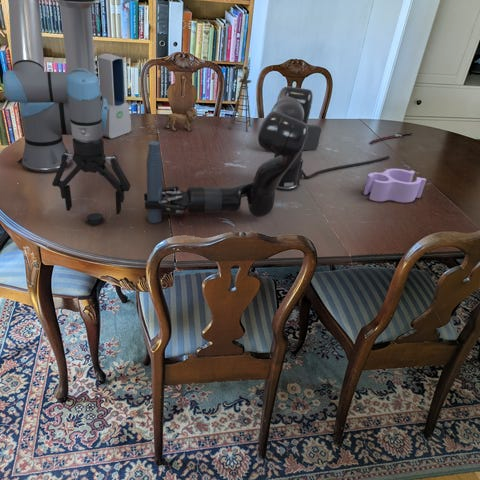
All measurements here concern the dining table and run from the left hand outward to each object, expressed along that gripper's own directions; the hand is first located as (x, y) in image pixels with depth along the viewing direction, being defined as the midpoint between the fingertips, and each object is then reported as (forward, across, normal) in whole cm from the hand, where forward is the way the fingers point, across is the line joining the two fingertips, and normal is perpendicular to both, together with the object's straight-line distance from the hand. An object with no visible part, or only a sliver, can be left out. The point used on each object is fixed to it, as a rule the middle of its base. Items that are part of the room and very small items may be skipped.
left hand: (94, 210), depth 130 cm
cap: (+2, 0, 0) cm, 2 cm away
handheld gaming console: (+4, +64, +66) cm, 92 cm away
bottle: (+4, +16, +3) cm, 17 cm away
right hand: (-3, +14, +3) cm, 14 cm away
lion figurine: (+4, +18, +80) cm, 82 cm away
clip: (+4, +95, +31) cm, 100 cm away
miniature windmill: (+4, +43, +88) cm, 98 cm away
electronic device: (+4, -8, +68) cm, 69 cm away
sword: (+4, +113, +89) cm, 144 cm away
